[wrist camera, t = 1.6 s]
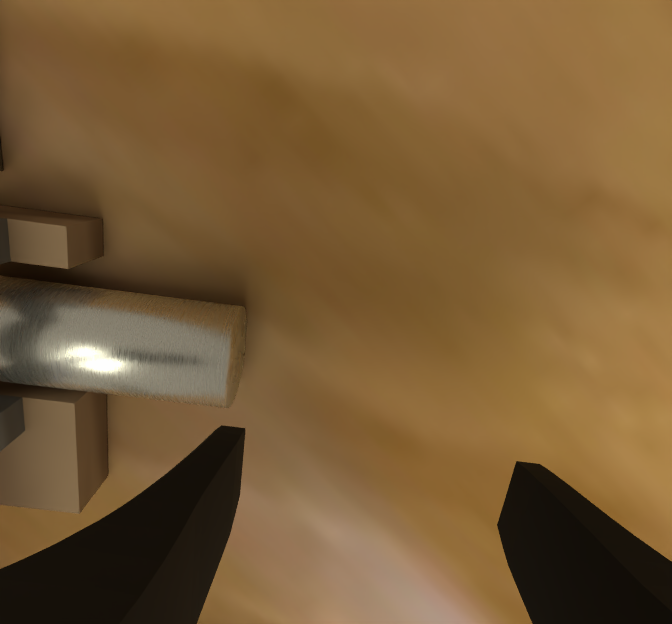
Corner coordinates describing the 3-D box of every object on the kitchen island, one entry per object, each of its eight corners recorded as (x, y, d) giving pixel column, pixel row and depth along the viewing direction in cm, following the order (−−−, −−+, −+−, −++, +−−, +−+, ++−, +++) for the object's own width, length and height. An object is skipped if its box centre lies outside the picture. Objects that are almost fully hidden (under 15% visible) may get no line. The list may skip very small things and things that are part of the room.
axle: (249, 291, 19) (225, 333, 15) (244, 374, 20) (222, 430, 17) (-45, 254, 18) (-142, 287, 15) (-27, 341, 20) (-111, 390, 16)
